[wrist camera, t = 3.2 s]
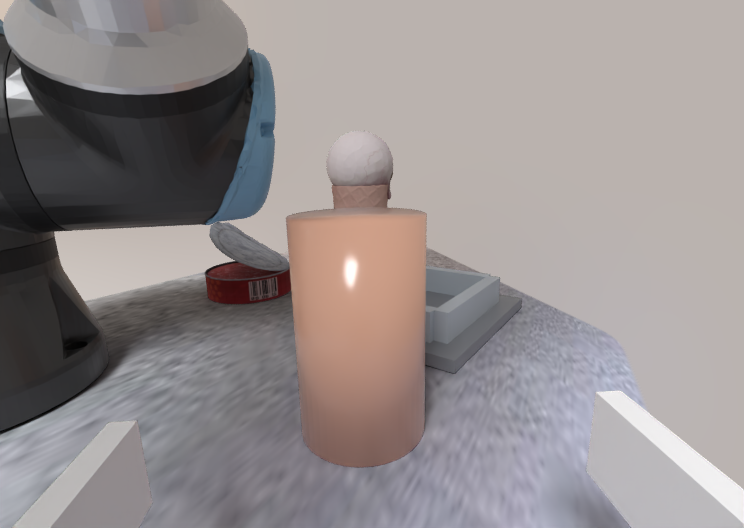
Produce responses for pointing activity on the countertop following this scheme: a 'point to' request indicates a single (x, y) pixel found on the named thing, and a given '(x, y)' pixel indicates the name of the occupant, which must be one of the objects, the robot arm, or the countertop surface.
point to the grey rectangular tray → (462, 315)
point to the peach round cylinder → (359, 331)
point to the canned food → (245, 269)
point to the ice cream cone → (360, 171)
